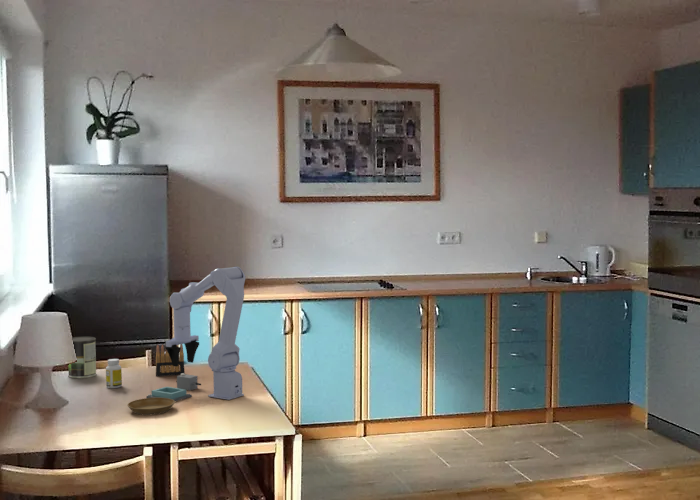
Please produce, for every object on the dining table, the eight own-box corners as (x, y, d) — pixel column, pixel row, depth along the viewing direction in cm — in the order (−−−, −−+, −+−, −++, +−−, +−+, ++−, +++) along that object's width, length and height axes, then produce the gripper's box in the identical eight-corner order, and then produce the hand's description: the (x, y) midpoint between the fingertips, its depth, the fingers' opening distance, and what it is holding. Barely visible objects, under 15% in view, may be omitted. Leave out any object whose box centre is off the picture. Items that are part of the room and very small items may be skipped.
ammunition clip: (156, 376, 323) (155, 344, 322) (155, 375, 324) (155, 344, 324) (184, 374, 326) (184, 343, 325) (184, 373, 327) (183, 342, 327)
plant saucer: (128, 418, 264) (127, 410, 263) (127, 407, 278) (127, 399, 278) (176, 415, 268) (176, 406, 267) (173, 403, 282) (173, 396, 282)
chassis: (191, 396, 290) (191, 389, 290) (172, 402, 283) (172, 395, 282) (166, 392, 297) (165, 385, 297) (146, 397, 289) (146, 390, 289)
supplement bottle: (124, 385, 308) (123, 358, 307) (118, 388, 303) (117, 361, 302) (109, 385, 309) (108, 358, 308) (103, 388, 303) (103, 361, 302)
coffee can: (70, 379, 318) (69, 341, 317) (66, 374, 327) (65, 337, 326) (98, 376, 322) (97, 339, 321) (94, 371, 332) (93, 335, 331)
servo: (204, 389, 301) (204, 375, 301) (196, 391, 298) (196, 377, 297) (182, 386, 307) (182, 372, 306) (174, 388, 303) (174, 374, 303)
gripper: (187, 322, 310) (188, 359, 311) (159, 328, 298) (160, 366, 299) (202, 323, 306) (203, 361, 307) (173, 329, 294) (174, 368, 295)
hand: (183, 364), depth 303 cm, fingers open, 7 cm apart
